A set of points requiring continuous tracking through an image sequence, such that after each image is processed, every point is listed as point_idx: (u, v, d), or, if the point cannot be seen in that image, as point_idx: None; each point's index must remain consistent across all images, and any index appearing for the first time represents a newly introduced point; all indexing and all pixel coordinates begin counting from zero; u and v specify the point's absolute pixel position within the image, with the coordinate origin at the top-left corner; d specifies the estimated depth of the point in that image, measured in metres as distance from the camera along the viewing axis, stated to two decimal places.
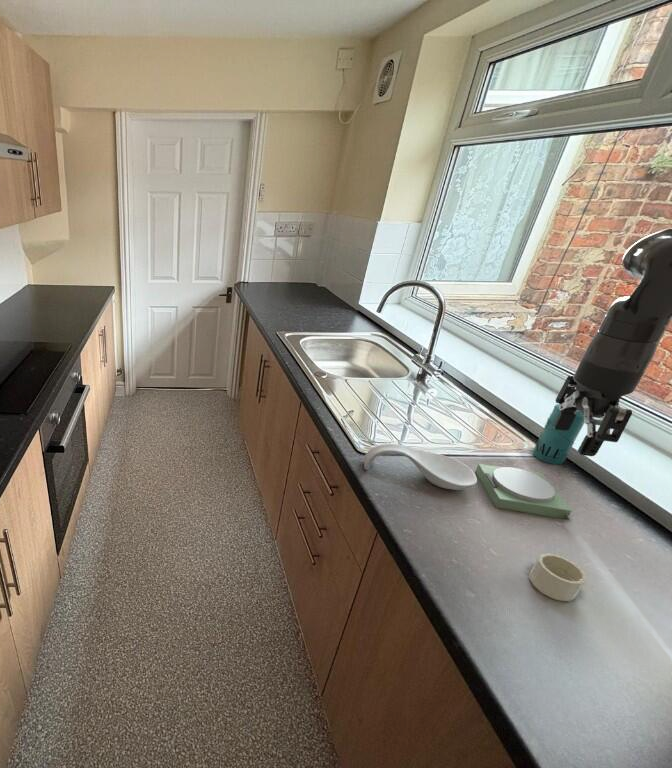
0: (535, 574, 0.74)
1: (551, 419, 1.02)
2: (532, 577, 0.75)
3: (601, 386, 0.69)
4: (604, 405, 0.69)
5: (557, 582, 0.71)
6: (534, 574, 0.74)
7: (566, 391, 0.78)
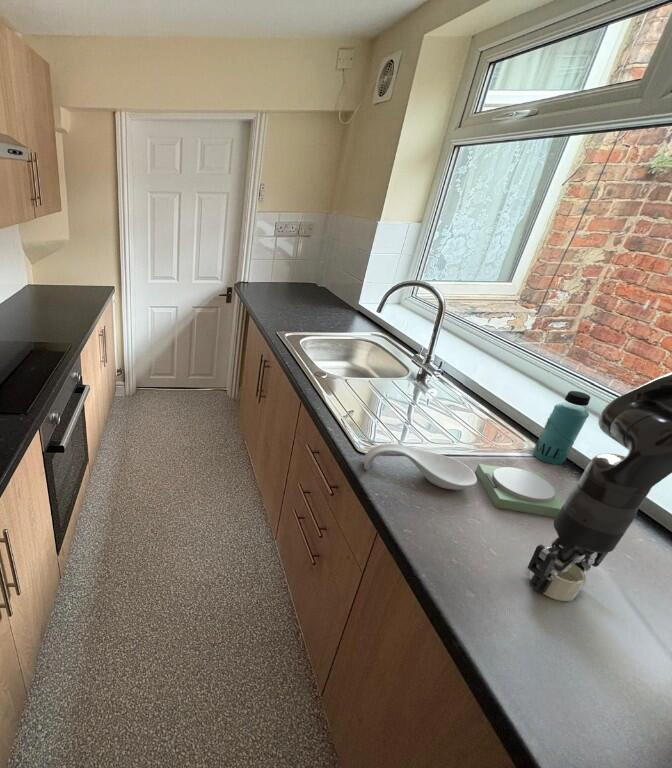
0: None
1: (551, 419, 1.02)
2: None
3: (556, 525, 0.70)
4: (552, 544, 0.70)
5: (557, 582, 0.71)
6: None
7: None
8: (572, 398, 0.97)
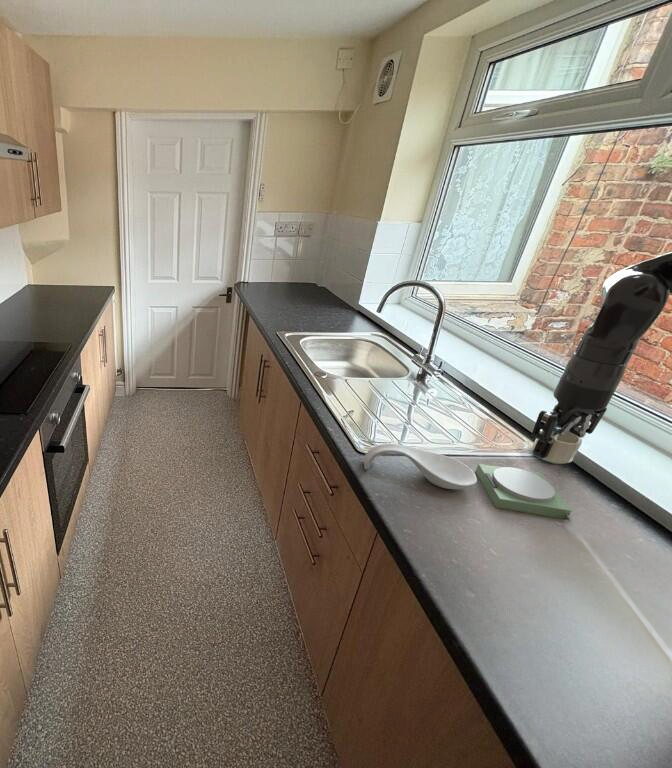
0: None
1: None
2: None
3: (556, 393, 0.80)
4: (553, 410, 0.80)
5: (557, 445, 0.81)
6: None
7: None
8: None
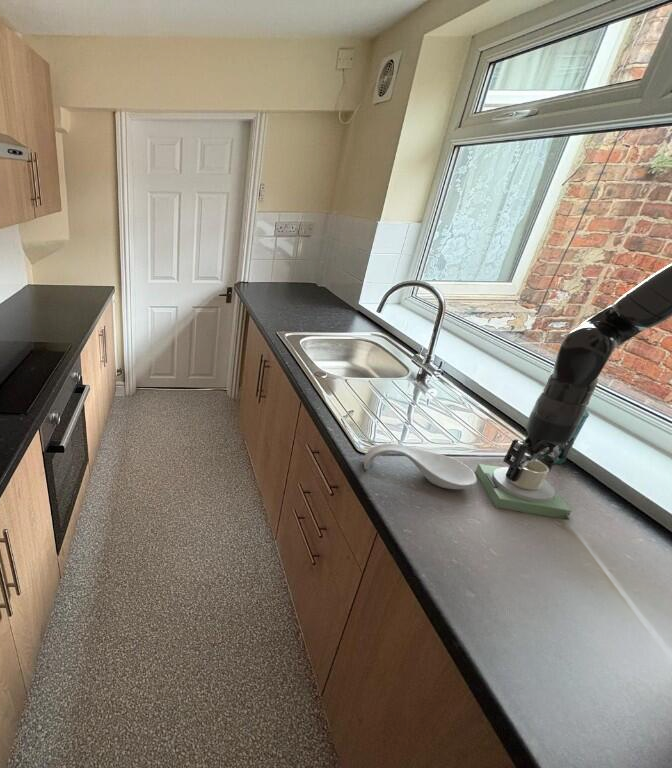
0: None
1: None
2: None
3: (527, 426, 0.89)
4: (524, 441, 0.90)
5: (527, 473, 0.91)
6: None
7: None
8: None
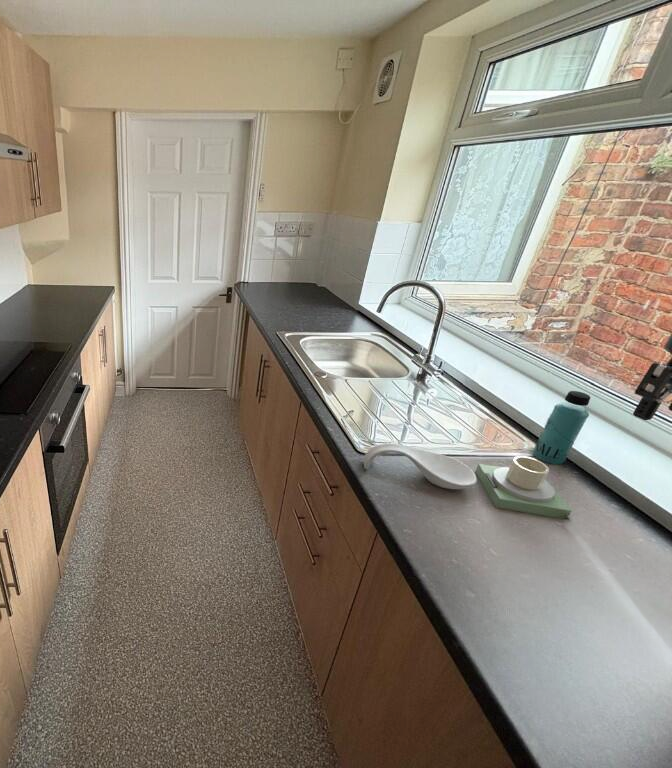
0: (510, 471, 0.94)
1: (551, 419, 1.02)
2: (508, 474, 0.95)
3: (670, 346, 0.69)
4: None
5: (527, 473, 0.91)
6: (510, 471, 0.95)
7: None
8: (572, 398, 0.97)
